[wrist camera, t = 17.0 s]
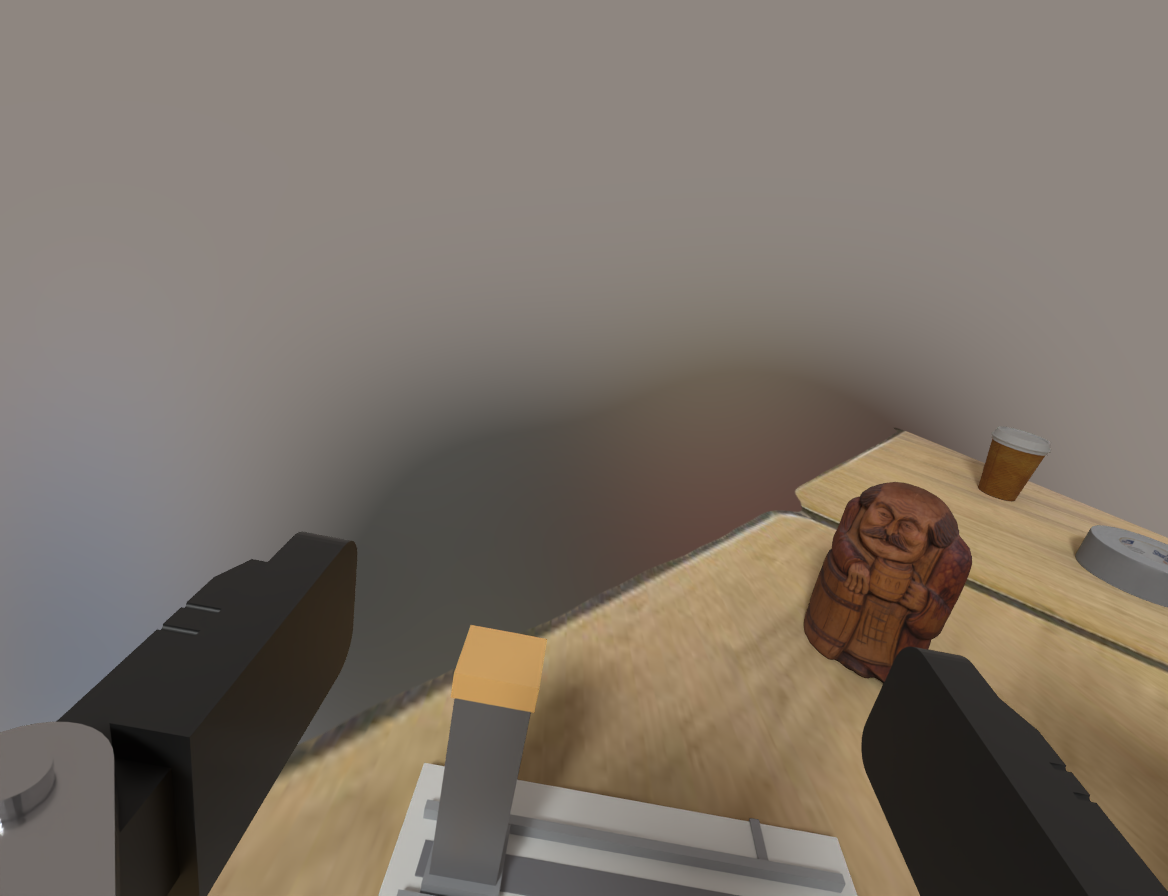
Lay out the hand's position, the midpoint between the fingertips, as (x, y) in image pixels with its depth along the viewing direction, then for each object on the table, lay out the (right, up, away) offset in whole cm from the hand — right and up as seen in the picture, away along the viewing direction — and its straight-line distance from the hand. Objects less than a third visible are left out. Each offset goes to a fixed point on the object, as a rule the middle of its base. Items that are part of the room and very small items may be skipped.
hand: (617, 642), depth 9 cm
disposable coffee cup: (+78, -6, +110) cm, 135 cm away
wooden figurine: (+26, -18, +53) cm, 61 cm away
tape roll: (+81, -17, +84) cm, 118 cm away
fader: (-7, -20, +25) cm, 33 cm away
